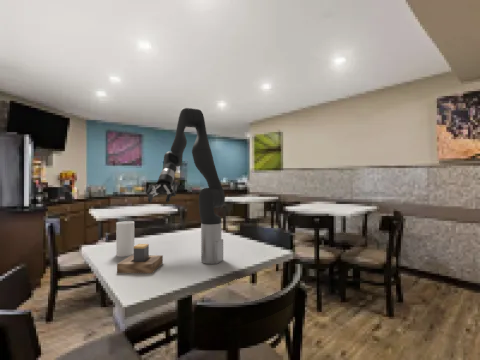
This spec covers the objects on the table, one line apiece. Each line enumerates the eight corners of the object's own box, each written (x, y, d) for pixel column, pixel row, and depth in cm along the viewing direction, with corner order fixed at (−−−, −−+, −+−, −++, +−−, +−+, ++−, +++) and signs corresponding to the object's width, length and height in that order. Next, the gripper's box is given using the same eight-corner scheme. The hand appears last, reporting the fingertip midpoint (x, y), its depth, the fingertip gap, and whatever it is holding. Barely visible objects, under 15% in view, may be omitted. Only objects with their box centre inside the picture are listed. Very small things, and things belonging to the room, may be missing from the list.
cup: (129, 251, 130) (129, 220, 130) (137, 253, 125) (137, 222, 125) (113, 254, 124) (113, 222, 124) (121, 257, 119) (121, 224, 119)
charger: (148, 266, 106) (148, 243, 106) (144, 269, 101) (144, 246, 102) (138, 266, 106) (138, 243, 106) (133, 269, 102) (133, 246, 102)
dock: (162, 263, 109) (162, 255, 109) (151, 273, 97) (151, 264, 97) (131, 263, 110) (131, 255, 110) (117, 272, 98) (117, 263, 98)
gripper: (151, 173, 130) (141, 196, 118) (178, 173, 129) (170, 196, 117) (155, 183, 135) (146, 206, 123) (180, 183, 134) (174, 206, 123)
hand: (158, 201), depth 120 cm, fingers open, 8 cm apart
